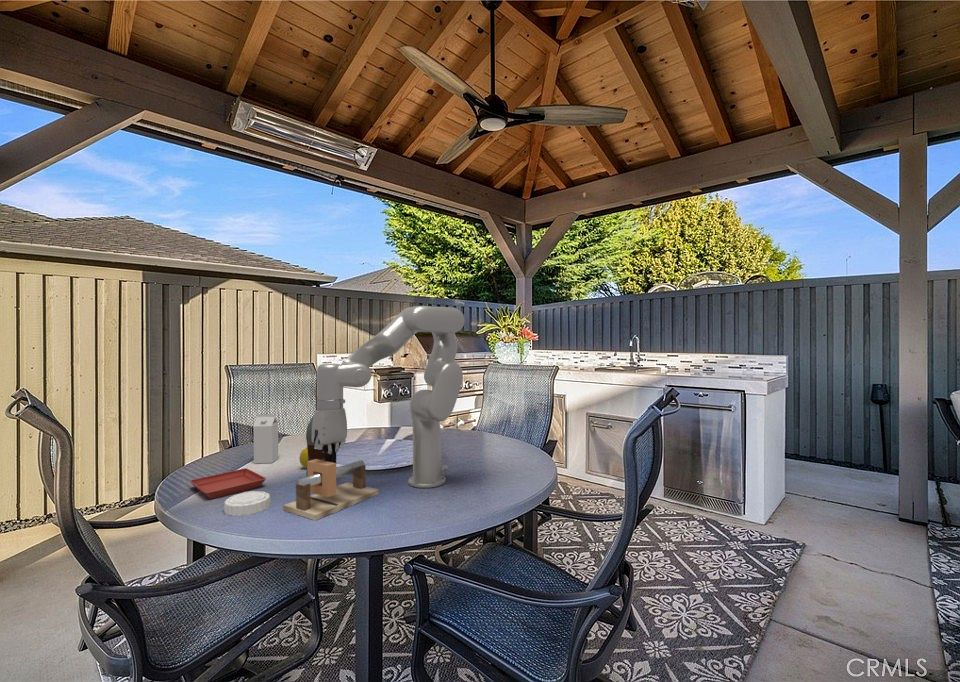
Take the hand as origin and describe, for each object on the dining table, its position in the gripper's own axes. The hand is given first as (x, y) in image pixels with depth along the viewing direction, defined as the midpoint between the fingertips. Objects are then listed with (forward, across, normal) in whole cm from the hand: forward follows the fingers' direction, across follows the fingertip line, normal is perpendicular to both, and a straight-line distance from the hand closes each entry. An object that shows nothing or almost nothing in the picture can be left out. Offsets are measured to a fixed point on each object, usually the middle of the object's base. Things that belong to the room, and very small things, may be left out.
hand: (330, 465), depth 136 cm
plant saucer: (+12, +8, -41) cm, 43 cm away
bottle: (+11, -11, -18) cm, 24 cm away
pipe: (+4, -1, 0) cm, 4 cm away
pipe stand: (+11, -1, 0) cm, 11 cm away
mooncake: (+12, +15, -18) cm, 26 cm away
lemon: (+11, -20, -37) cm, 43 cm away
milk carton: (+12, -18, -60) cm, 64 cm away
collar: (+7, +3, 0) cm, 8 cm away
